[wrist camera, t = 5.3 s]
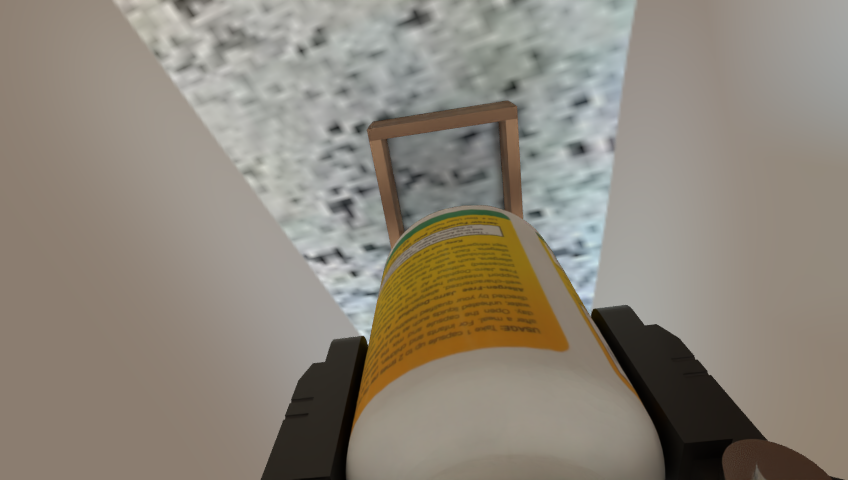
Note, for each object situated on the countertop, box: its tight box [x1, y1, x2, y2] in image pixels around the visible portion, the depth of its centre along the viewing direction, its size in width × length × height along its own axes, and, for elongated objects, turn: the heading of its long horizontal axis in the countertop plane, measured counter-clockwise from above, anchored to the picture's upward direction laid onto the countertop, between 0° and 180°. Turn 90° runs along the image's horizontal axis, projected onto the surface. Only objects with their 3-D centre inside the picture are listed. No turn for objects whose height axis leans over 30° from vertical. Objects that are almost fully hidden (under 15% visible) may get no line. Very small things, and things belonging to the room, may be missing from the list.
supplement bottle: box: [346, 205, 665, 480], centre depth 9 cm, size 5×5×10 cm
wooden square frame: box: [367, 101, 523, 248], centre depth 23 cm, size 8×8×2 cm
